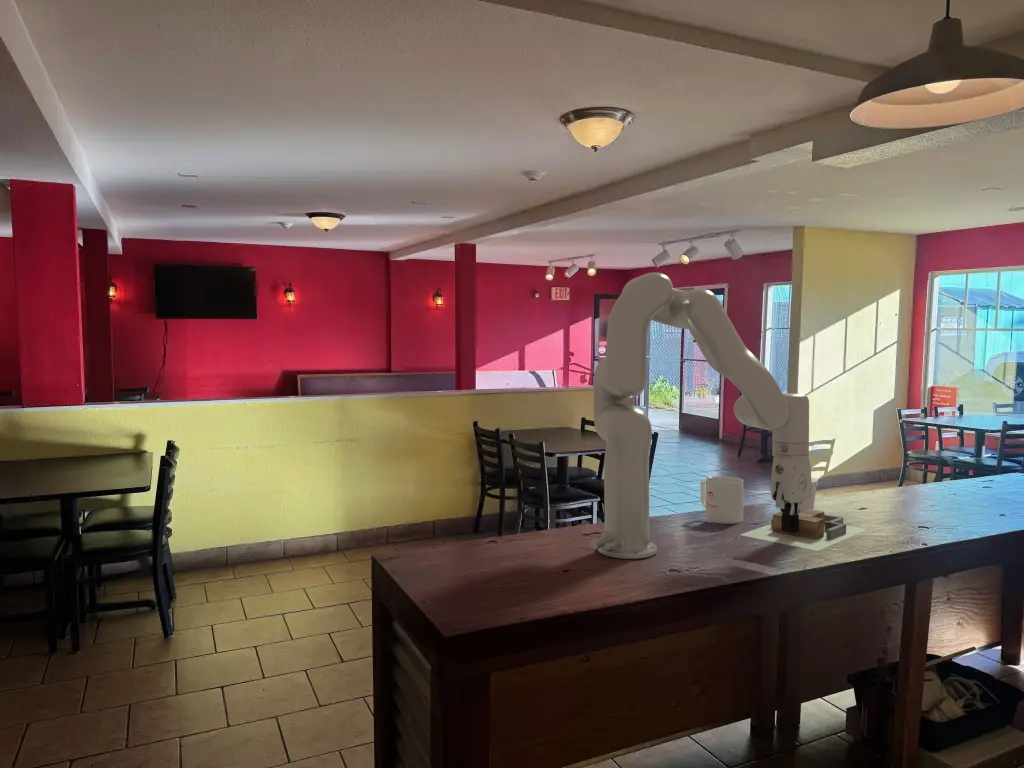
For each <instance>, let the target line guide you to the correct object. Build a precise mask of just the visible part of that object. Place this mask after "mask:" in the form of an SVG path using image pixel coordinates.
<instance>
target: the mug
mask: <svg viewBox="0 0 1024 768" xmlns="http://www.w3.org/2000/svg"><path fill="white" fill-rule="evenodd" d="M699 486H700V502H701V504H702V506H703V507H704V508H705V521H707V522H708V524H709V523H717V524H730V525H731V524H739V523H742V522H744V479H743V478H740V477H735V476H724V475H718V476H714V475H713V476H709V477H706V478H705V480H703V481H700V485H699Z"/></svg>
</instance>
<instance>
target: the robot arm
mask: <svg viewBox="0 0 1024 768" xmlns="http://www.w3.org/2000/svg"><path fill="white" fill-rule="evenodd" d="M652 321H653V322H656V323H660V324H663V325H666V326H669V327H673V328H677V329H683V330H688V331H689V332H690V334H691V336H692V338H693V340H694V342H696V345H697V346H698V349H699V350H700V351H701V354H702V355H703V357H704V359H705V361H706V363H707V364H708V365H709V366H710V367H711V368H712V369H713V370H714V371H715V372H717V373H718V374H719V375H720V376H721V375H722V377H724V378H726V379H727V380H729V381H730V382H731V383H732V384H733V385H734V386H735V387H736V388H737V389H738V391H739V392H740V393H741V394H742V395H740V397H738V398H737V400H735V402H734V404H733V413H734V416H735V418H736V419H737V421H739V422H740V423H741V424H743V425H745V426H747V427H752V428H757V429H761V430H767V431H772V436H771V437H772V441H771V442H772V443H771V444H772V452H771V453H772V456H773V458H772V459H773V460H772V466H771V479H770V481H771V482H770V492H771V493H770V495H771V499H772V501H774V502H775V508H777V509H779V512H781V514H782V527H781V529H782V531H785V532H790V533H796V532H798V531H799V513H800V505H801V503H803V502H804V500H807V499H809V498H810V497H811V495H812V482H811V478H812V469H811V462H810V400H809V399H810V398H809V396H807V395H806V394H803V393H798V392H797V393H795V392H794V393H793V392H791V393H790V392H789V393H783V391H782V390H781V388H780V386H779V385H778V383H777V381H776V380H775V378H774V376H773V374H771V372H770V371H769V370H768V369H767V368H766V366H764V364H763V363H762V362H761V361H760V360H759V359H758V358H757V357H756V355H754V354H753V352H751V350H749V349H748V348H747V346H746V345H745V343H744V341H743V340H742V338H741V337H740V335H739V333H738V332H737V330H736V328H735V326H734V324H733V323H732V320H731V319H730V318H729V315H728V313H727V311H726V310H725V308H724V307H723V305H722V303H721V302H720V299H719V298H718V296H717V295H716V294H715V293H714V292H712V291H711V290H709V289H706V288H696V289H692V290H682V289H677V288H674V285H673V282H672V281H671V279H670V277H668V276H667V275H666V274H664V273H661V272H647V273H645V274H641V275H640V276H637V277H635V278H632V279H630V280H629V281H628V282H627V283H625V285H624V286H623V288H622V291H621V294H620V295H619V296H618V298H617V299H616V301H615V303H614V305H613V306H612V308H611V311H610V313H609V317H608V321H607V328H606V329H607V330H606V344H605V351H606V352H605V353H606V354H605V357H603V358H602V359H601V360H600V361H599V363H598V364H597V365H596V368H595V371H594V373H593V374H594V375H593V423H594V428H595V431H596V434H597V435H598V437H599V438H601V440H602V441H604V442H605V451H604V452H605V453H604V461H603V462H604V463H603V464H604V465H603V473H604V474H603V475H604V476H603V481H604V482H603V483H604V485H603V486H604V493H603V495H604V497H603V498H604V531H602V532H601V537H600V538H596V539H594V540H591V541H590V548H591V549H592V550H597V551H598V552H599V554H601V555H603V556H606V557H611V558H616V559H623V560H635V559H638V560H639V559H645V558H650V557H652V556H654V555H656V554H657V551H658V548H657V545H656V544H655V543H653V542H651V541H650V452H651V445H652V437H653V429H652V423H651V420H650V418H649V417H648V415H647V414H646V413H645V411H643V410H642V409H641V408H640V407H637V406H636V405H635V404H636V403H635V402H636V401H635V397H638V396H640V394H642V393H643V391H644V390H645V388H646V386H647V380H648V361H647V359H648V358H647V355H648V353H647V352H648V351H647V345H648V331H649V327H650V324H651V323H652Z"/></svg>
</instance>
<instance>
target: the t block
mask: <svg viewBox="0 0 1024 768" xmlns="http://www.w3.org/2000/svg"><path fill="white" fill-rule="evenodd" d="M824 514H825V511H823V510H817V509H813V510H812V509H806V510H803V511H800V513H799V531H798V532H796V533H790V532H785V531H782V529H781V527H782V514H781V512H780V511H779V512H776V513H773V514H772V519H773V532H776V533H782V534H787V535H792V536H797V537H803V538H808V539H813V540H817V539H819V538H822V537H824Z"/></svg>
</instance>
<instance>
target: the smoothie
mask: <svg viewBox="0 0 1024 768" xmlns="http://www.w3.org/2000/svg"><path fill="white" fill-rule="evenodd" d="M811 482H812V495H811V497H810V498H809V499H807V500H804V502H803V503H801V505H800V511H803V510H806V509H812V510H815V509H814V508H815V501H816V494H817V487H818V485H819V481H818V479H816V478H812V477H811Z"/></svg>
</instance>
